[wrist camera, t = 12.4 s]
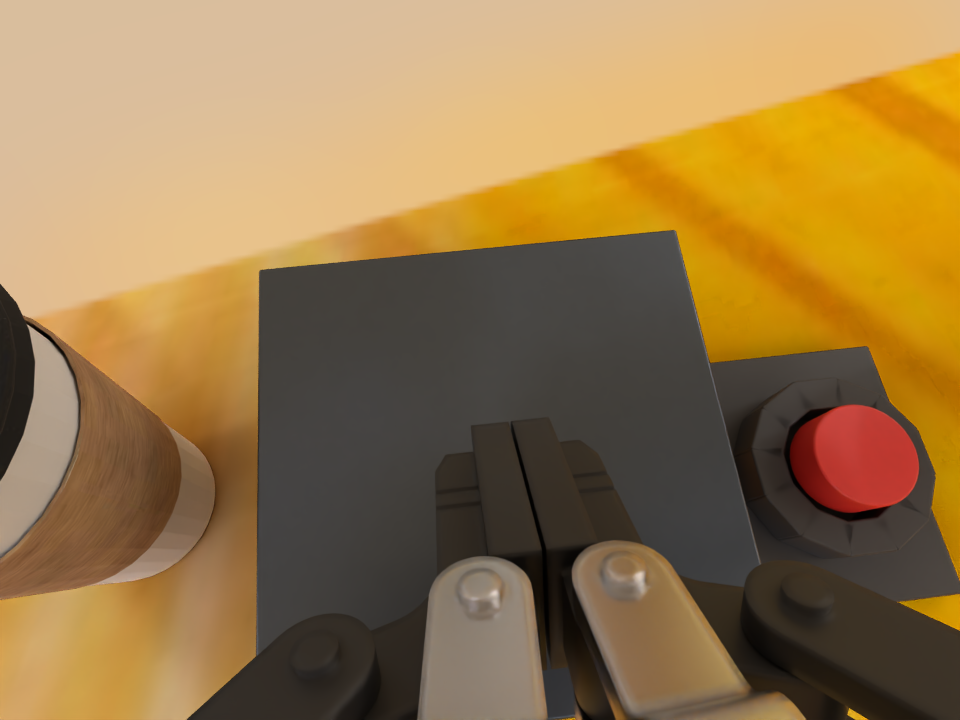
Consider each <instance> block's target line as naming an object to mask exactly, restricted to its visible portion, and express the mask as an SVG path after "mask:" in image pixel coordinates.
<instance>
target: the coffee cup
mask: <svg viewBox="0 0 960 720" xmlns="http://www.w3.org/2000/svg"><path fill="white" fill-rule="evenodd" d="M214 500H215V481H214V477H213V473H212V470H211V467H210V465H209V463H208V461H207V459H206V457H205V456H204V455H203V453H202V452H201V451H200V450H199V449H198V448H197V447H196V446H195V445H194V444H193V443H191V442H190V441H189V440H187V439H186V438H185V437H183V436H182V435H180V434H179V433H178V432H176V431H175V430H173V429H172V428H171V427H169V426H168V425H166V424H165V423H164V422H162V421H161V419H160V418H159V417H158V416H156V415H155V414H154V413H153V412H151V411H150V410H149V409H148V408H146V407H145V406H144V405H143V404H141V403H140V402H139V401H138V400H136V399H135V398H134V397H133V396H131V395H130V394H129V393H128V392H126V391H125V390H124V389H123V388H121V387H120V386H119V385H117V384H116V383H115V382H114V381H112V380H111V379H110V378H109V377H107V376H106V375H105V374H104V373H102V372H101V371H100V370H99V369H97V368H96V367H95V366H94V365H92V364H91V363H90V362H89V361H87V360H86V359H85V358H84V357H82V356H81V355H80V354H79V353H77V352H76V351H75V350H74V349H72V348H71V347H70V346H69V345H67V344H66V343H65V342H64V341H62V340H61V339H60V338H59V337H57V336H56V335H55V334H54V333H52V332H51V331H49V330H48V329H46V328H45V327H43V326H42V325H40V324H39V323H37V322H36V321H34V320H33V319H31V318H28V317H25V316H23V315H22V314H21V311H20V310H19V307H18V305H17V303H16V302H15V301H14V299H13V298H12V297H11V296H10V295H9V294H8V292H7V291H6V290H5V289H4V288H3V287H2V285H1V284H0V600H2V599H9V598H16V597H23V596H29V595H36V594H43V593H49V592H56V591H63V590H69V589H76V588H80V587H84V586H91V585H101V584H110V583H120V582H128V581H135V580H139V579H143V578H147V577H151V576H153V575H155V574H158V573H160V572H162V571H165V570H166V569H168V568H169V567H171V566H172V565H174V564H175V563H177V562H178V561H180V560H181V559H182V558H183V557H184V556H185V555H186V554H187V553H188V552H189V551H190V550H191V549H192V548H193V547H194V545H195V544H196V543H197V542H198V540H199V539H200V538H201V536H202V534H203V532H204V530H205V529H206V527H207V525H208V523H209V520H210V517H211V514H212V511H213V507H214Z"/></svg>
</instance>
